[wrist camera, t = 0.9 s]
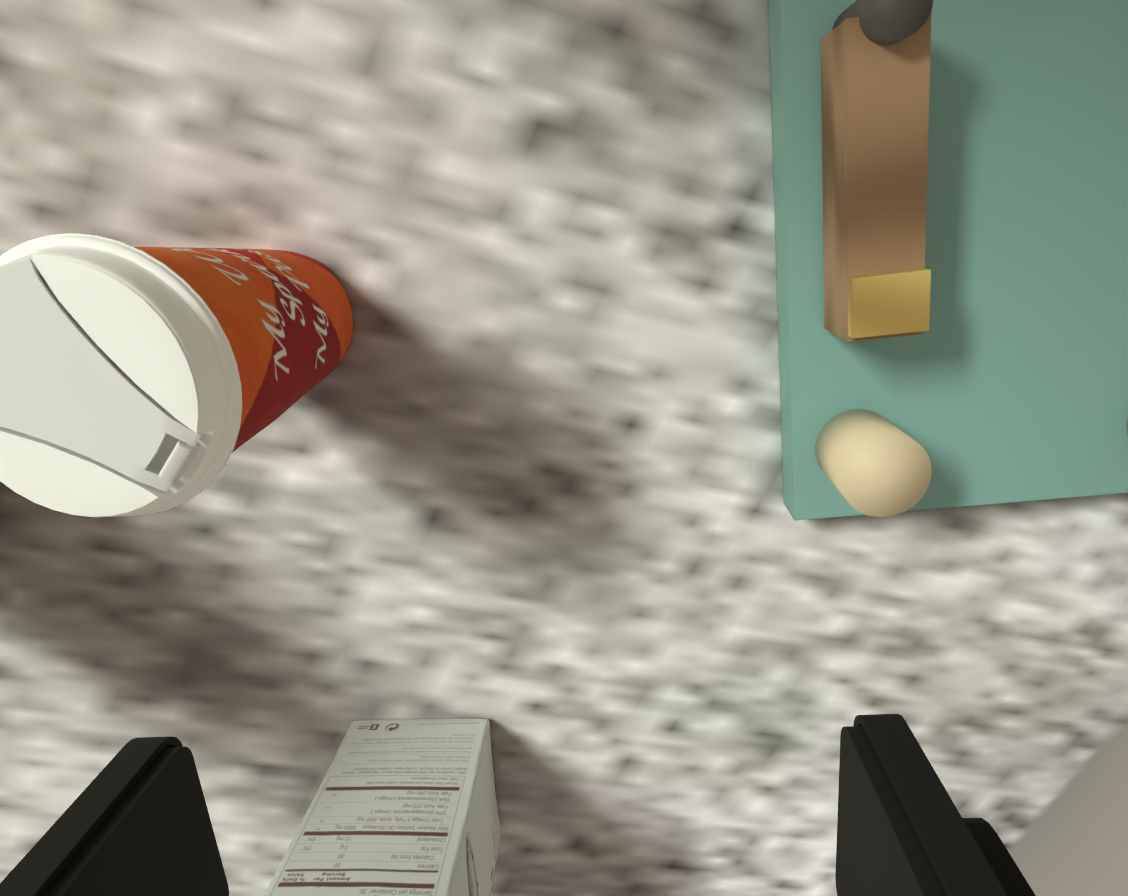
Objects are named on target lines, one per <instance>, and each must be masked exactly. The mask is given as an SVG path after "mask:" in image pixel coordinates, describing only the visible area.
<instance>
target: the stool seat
mask: <svg viewBox="0 0 1128 896" xmlns="http://www.w3.org/2000/svg"><path fill="white" fill-rule="evenodd" d="M855 1H856V0H768V12H769V45H770V77H771V109H772V142H773V174H774V207H775V239H776V271H777V304H778V336H779V369H780V401H781V433H782V466H783V498H784V504H785V506H786V508H787V509H788V511H789V512H790V514H791V516H792V517H793V519H794V520H806V519H818V518H830V517H842V516H854V515H868V516H873V517H890V516H894V515H898V514H900V513H903V512H905V511H914V510H926V509H938V508H950V507H962V506H974V505H986V504H998V503H1010V502H1022V501H1034V500H1046V499H1058V498H1070V497H1082V496H1094V495H1106V494H1117V493H1128V0H933V6H932V12H931V50H930V88H929V126H928V164H927V202H926V241H925V269H929V270H931V284H930V319H929V331H923V334H919V335H910V336H900V337H890V338H881V339H871V340H861V341H851V342H848V341H846V340H844V339H842V338H840V337H839V336H837V335H835V334H833V333H831V332H829V331H828V330H826V329H824V266H823V188H822V109H821V39H822V38H823V37H824V36H826V35H827V34H828V33H829V32H831V31H832V28H833V25H834V23H835V21H836V19H837V18H838V16H839V15H840V14H841V13H842V12H843V11H845V10H846V9H847V8H848V7H849V6H850V5H852V4H853V3H854V2H855Z"/></svg>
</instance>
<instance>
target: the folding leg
mask: <svg viewBox="0 0 1128 896" xmlns="http://www.w3.org/2000/svg"><path fill="white" fill-rule="evenodd" d="M932 6H933V0H856V1H855V2H854V3H853V4H852V5H850V6H849V7H848V8H847V9H846V10H845V11H843V12H842V13H841V14H840V15H839V16H838V18H837V19H836V21H835V23H834V25H833V28H832V31H831V32H829V33H828V34H827V35H826V36H824V37H823V38H822V39H821V109H822V188H823V266H824V329H826V330H828V331H829V332H831V333H833V334H835V335H837V336H839V337H840V338H842V339H844V340H846V341H848V342H851V341H861V340H871V339H881V338H890V337H900V336H910V335H919V334H923V331H929V319H930V284H931V270H929V269H925V241H926V202H927V164H928V126H929V88H930V50H931V12H932Z"/></svg>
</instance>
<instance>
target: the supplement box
mask: <svg viewBox="0 0 1128 896" xmlns="http://www.w3.org/2000/svg"><path fill="white" fill-rule="evenodd" d="M500 837H501V826H500V821H499V814H498V808H497V801H496V793H495V784H494V774H493V763H492V752H491V738H490V722H489V720H488V719H471V718H465V719H387V720H356V721H353V722H352V723H351V725H350V727H349V729H348V731H347V733H346V735H345V737H344V739H343V741H342V743H341V745H340V747H339V749H338V751H337V753H336V755H335V757H334V759H333V761H332V763H331V765H330V767H329V769H328V771H327V773H326V775H325V777H324V779H323V781H322V783H321V785H320V787H319V789H318V791H317V793H316V795H315V797H314V799H313V801H312V803H311V805H310V807H309V809H308V810H307V812H306V814H305V816H304V818H303V820H302V822H301V824H300V826H299V828H298V830H297V832H296V834H295V836H294V838H293V840H292V842H291V844H290V846H289V848H288V850H287V852H286V854H285V856H284V858H283V860H282V862H281V864H280V866H279V868H278V870H277V871H276V873H275V875H274V877H273V879H272V881H271V883H270V885H269V887H268V889H267V891H266V893H265V895H264V896H490V895H491V889H492V884H493V879H494V873H495V867H496V861H497V855H498V849H499V843H500Z"/></svg>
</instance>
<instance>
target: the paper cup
mask: <svg viewBox="0 0 1128 896" xmlns="http://www.w3.org/2000/svg"><path fill="white" fill-rule="evenodd" d="M353 325H354V323H353V312H352V307H351V304H350V301H349V298H348V296H347V294H346V292H345V290H344V288H343V286H342V285H341V283H340V282H339V281H338V279H337V278H336V277H335V276H334V275H333V274H332V273H331V272H330V271H329V270H328V269H327V268H326V267H324V266H323V265H322V264H320V263H319V262H317V261H315V260H314V259H311V258H309V257H307V256H304V255H302V254H298V253H294V252H288V251H281V250H264V249H231V248H175V247H132V246H130V245H128V244H125V243H123V242H120V241H117V240H113V239H109V238H105V237H101V236H97V235H86V234H75V233H70V234H58V235H48V236H44V237H40V238H36V239H33V240H29V241H26V242H24V243H22V244H20V245H18V246H16V247H14V248H12V249H10V250H8V251H6V252H5V253H4V254H3V255H1V256H0V482H2V483H3V484H5V485H6V486H7V487H9V488H10V489H11V490H13V491H14V492H16V493H17V494H19V495H21V496H23V497H25V498H27V499H28V500H30V501H32V502H34V503H36V504H39V505H42V506H44V507H47V508H49V509H52V510H55V511H59V512H63V513H67V514H71V515H77V516H87V517H114V516H143V515H149V514H154V513H158V512H163V511H166V510H169V509H171V508H174V507H176V506H179V505H181V504H183V503H185V502H186V501H188V500H190V499H191V498H193V497H195V496H196V495H198V494H199V493H201V492H202V491H203V490H204V489H205V488H206V487H207V486H208V485H209V484H210V483H211V482H213V481H214V479H215V478H216V477H217V476H218V474H219V473H220V472H221V470H222V469H223V468H224V466H225V465H226V463H227V461H228V459H229V457H230V455H231V453H232V452H233V451H235V450H236V449H237V448H238V447H240V446H241V445H242V444H244V443H245V442H246V441H248V440H249V439H250V438H252V437H253V436H254V435H256V434H257V433H258V432H260V431H261V430H262V429H264V428H265V427H266V426H268V425H269V424H270V423H272V422H273V421H275V420H276V419H277V418H278V417H279V416H280V415H282V414H283V413H284V412H285V411H286V410H287V409H288V408H290V407H291V406H292V405H293V404H294V403H295V402H296V401H297V400H299V399H300V398H301V397H302V396H303V395H304V394H305V393H307V392H308V391H309V390H310V389H311V388H313V387H314V386H315V385H316V384H317V383H319V382H320V381H321V380H322V379H323V378H324V377H326V376H327V375H328V374H329V373H330V372H331V371H332V370H333V369H334V368H335V367H336V366H337V365H338V364H339V363H340V361H341V360H342V359H343V357H344V356H345V354H346V352H347V350H348V348H349V346H350V343H351V339H352V335H353Z"/></svg>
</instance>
